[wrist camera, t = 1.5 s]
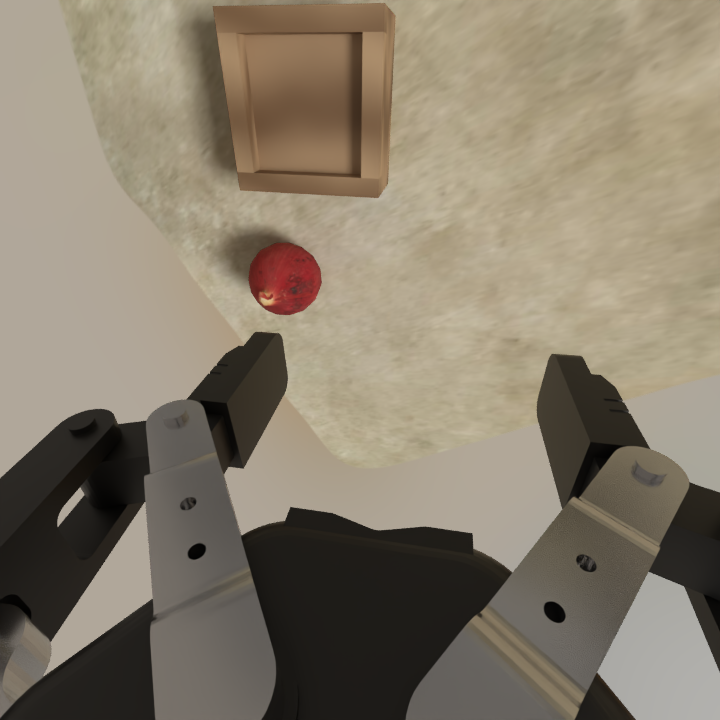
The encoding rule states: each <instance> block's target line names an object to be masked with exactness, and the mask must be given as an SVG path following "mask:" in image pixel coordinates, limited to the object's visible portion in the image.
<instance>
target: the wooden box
mask: <svg viewBox="0 0 720 720" xmlns="http://www.w3.org/2000/svg"><path fill="white" fill-rule="evenodd" d="M213 11H214V17H215V24H216V31H217V38H218V45H219V51H220V58H221V65H222V72H223V79H224V85H225V92H226V99H227V106H228V112H229V119H230V126H231V133H232V140H233V146H234V153H235V160H236V167H237V174H238V180H239V187H240V190H243V191H262V192H280V193H298V194H316V195H335V196H353V197H371V198H379V196H380V195H381V193H382V192H383V190H384V189H385V187H386V186H387V184H388V170H389V148H390V126H391V103H392V81H393V59H394V37H395V15H394V13H393V12H392V11H391V10H390V9H389V8H388V6H387V5H386V4H385V3H371V4H315V5H259V6H213Z"/></svg>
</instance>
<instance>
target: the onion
mask: <svg viewBox="0 0 720 720" xmlns="http://www.w3.org/2000/svg"><path fill="white" fill-rule="evenodd" d="M321 283H322V281H321V271H320V268H319V266H318V264H317V262H316V260H315V259H314V257H313V256H312V255H311V254H310V253H308V252H307V251H306V250H304V249H303V248H302V247H299V246H297V245H294V244H291V243H275V244H273V245H271V246H268V247H266V248H264V249H262V250H260V252H259V253H258V254H257V255H256V257H255V258H254V260H253V261H252V263H251V265H250V271H249V284H250V289H251V293H252V294H253V296H254V297H255V299H256V300H257V302H258V303H259V304H260V305H261V306H262V307H263V308H265V309H266V310H268V311H270V312H272V313H275V314H279V315H291V314H294V313H297V312H300V311H303V310H305V309H306V308H307V307H308V306H309V305H310V304H311V303H312V302H313V301H314V300H315V299H316V296H317V294H318V291H319V289H320V286H321Z"/></svg>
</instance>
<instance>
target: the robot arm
mask: <svg viewBox="0 0 720 720" xmlns="http://www.w3.org/2000/svg"><path fill="white" fill-rule="evenodd" d="M287 381H288V374H287V367H286V360H285V353H284V346H283V340H282V337H281V335H280V334H279V333H267V332H255V333H254V334H253V335H252V336H251V338H250V339H249V340H248V341H247V342H246V344H245V345H244V346H238V347H236V348H234V349H233V350H231V351H229V352H228V353H226V354H225V355H224V356H223V357H222V359H221V360H220V361H219V362H218V363H217V366H215V367H214V368H213V369H212V370H211V371H210V374H208V375H207V376H206V377H205V378H204V380H203V381H202V382H201V383H200V384H199V386H198V387H197V388H196V389H195V390H194V391H193V392H192V394H191V395H190V396H189V397H188V398H187V399H186V400H177V401H173V402H170V403H167V404H165V405H163V406H161V407H159V408H158V409H156V410H155V411H154V412H153V413H152V414H151V415H150V416H149V417H148V419H147V421H141V422H133V423H125V424H118V423H117V421H116V419H115V416H114V414H113V413H112V412H110V411H108V410H105V409H93V410H87V411H84V412H81V413H78V414H75V415H73V416H71V417H69V418H67V419H66V420H64V421H63V422H61V423H60V424H59V425H58V426H57V427H56V428H55V429H53V430H52V431H51V432H50V433H49V434H48V435H47V436H46V437H45V438H44V439H43V440H41V441H40V442H39V443H38V444H37V445H36V446H35V447H34V448H33V449H32V450H31V451H29V452H28V453H27V454H26V455H25V456H24V457H23V458H22V459H21V460H20V461H19V462H17V463H16V464H15V465H14V466H13V467H12V468H11V469H10V470H9V471H8V472H7V473H6V474H5V475H4V476H2V477H1V478H0V720H636V719H635V718H634V717H633V716H632V715H631V713H630V712H629V711H628V710H627V708H626V707H625V706H624V705H623V704H622V702H621V701H620V700H619V699H618V697H617V696H616V695H615V694H614V693H613V691H612V690H611V689H610V688H609V686H608V685H607V684H606V683H605V682H604V680H603V679H602V678H601V677H600V675H599V674H598V673H597V671H598V669H599V667H600V665H601V663H602V661H603V659H604V657H605V656H606V653H607V652H608V649H609V648H610V646H611V644H612V641H613V639H614V638H615V636H616V634H617V632H618V630H619V628H620V626H621V624H622V622H623V620H624V618H625V616H626V614H627V613H628V611H629V609H630V607H631V605H632V603H633V601H634V599H635V597H636V595H637V593H638V591H639V589H640V587H641V585H642V583H643V581H644V579H645V577H646V575H647V573H648V572H651V573H653V574H656V575H658V576H661V577H663V578H665V579H668V580H670V581H673V582H675V583H678V584H680V585H682V586H684V587H685V589H686V591H687V594H688V596H689V599H690V601H691V604H692V606H693V609H694V611H695V613H696V616H697V618H698V621H699V623H700V625H701V628H702V630H703V632H704V635H705V638H706V640H707V642H708V645H709V647H710V649H711V652H712V654H713V657H714V659H715V662H716V664H717V666H718V669H719V671H720V493H719V492H716V491H713V490H710V489H707V488H704V487H701V486H698V485H695V484H692V483H690V482H689V479H688V477H687V475H686V473H685V472H684V471H683V469H682V468H681V467H680V466H679V465H678V464H676V463H675V462H674V461H673V460H671V459H670V458H668V457H667V456H665V455H663V454H661V453H659V452H656V451H654V450H651V449H650V448H649V446H648V444H647V442H646V441H645V439H644V437H643V436H642V433H641V432H640V430H639V429H638V426H637V425H636V423H635V421H634V419H633V418H632V416H631V414H629V413H628V412H629V411H628V409H627V407H626V405H625V404H624V403H622V398H621V396H620V395H619V393H618V391H617V389H616V388H615V386H613V385H612V384H611V383H610V382H608V381H607V380H606V379H605V378H604V377H602V376H601V375H593V374H591V373H590V371H589V369H588V367H587V365H586V363H585V361H584V359H583V357H582V356H575V355H561V354H552V355H551V356H550V358H549V360H548V363H547V367H546V371H545V374H544V378H543V382H542V385H541V389H540V392H539V396H538V401H537V418H538V422H539V425H540V429H541V433H542V436H543V440H544V443H545V447H546V451H547V455H548V458H549V462H550V466H551V469H552V473H553V477H554V480H555V484H556V487H557V491H558V495H559V499H560V502H561V506H562V511H561V512H560V513H559V515H558V516H557V517H556V518H555V520H554V521H553V522H552V524H551V525H550V526H549V527H548V529H547V530H546V531H545V532H544V534H543V535H542V536H541V537H540V539H539V540H538V541H537V543H536V544H535V545H534V547H533V548H532V549H531V550H530V551H529V553H528V554H527V555H526V556H525V558H524V559H523V560H522V562H521V563H520V564H519V565H518V567H517V568H516V569H515V570H514V572H513V573H512V572H511V571H510V570H509V569H507V568H506V567H505V566H504V565H502V564H501V563H499V562H498V561H496V560H495V559H493V558H492V557H489V556H487V555H486V554H484V553H482V552H480V551H477V550H475V549H473V535H472V533H466V532H459V531H452V530H445V529H438V528H431V527H415V528H404V529H393V530H381V531H380V530H379V531H378V530H373V529H370V528H368V527H365V526H363V525H360V524H358V523H356V522H353V521H351V520H348V519H346V518H343V517H340V516H338V515H336V514H333V513H327V512H321V511H314V510H306V509H299V508H293V507H290V510H289V512H288V515H287V518H286V520H285V521H282V522H276V523H271V524H267V525H265V526H261V527H258V528H256V529H254V530H251V531H249V532H247V533H245V534H244V535H242V536H241V532H240V529H239V526H238V522H237V519H236V515H235V512H234V509H233V505H232V502H231V498H230V495H229V491H228V488H227V484H226V481H225V478H224V473H225V472H226V470H227V468H228V467H236V468H244V467H245V465H246V463H247V461H248V459H249V457H250V456H251V454H252V452H253V450H254V448H255V447H256V445H257V443H258V441H259V439H260V438H261V436H262V434H263V432H264V430H265V428H266V427H267V425H268V423H269V421H270V419H271V417H272V415H273V414H274V412H275V410H276V408H277V406H278V405H279V402H280V401H281V399H282V397H283V395H284V394H285V391H286V388H287ZM80 487H81V489H82V491H83V492H84V494H85V495H84V496H83V498H82V499H81V500H80V501H79V502H78V504H77V505H76V506H75V507H74V509H73V510H72V511H71V512H70V513H69V515H68V516H67V517H66V518H65V519H64V521H63V522H62V523H61V524H60V525H59V527H57V519H58V516H59V513H60V511H61V509H62V507H63V506H64V505H65V504H66V503H67V501H68V500H69V499H70V498H71V497H72V496H73V494H74V493H75V492H76V491H77V490H78V489H79V488H80ZM144 502H146V514H147V527H148V541H149V554H150V566H151V579H152V593H153V599H151V600H150V601H149V602H147V603H146V604H145V605H143V606H142V607H140V608H139V609H137V610H136V611H135V612H133V613H132V614H131V615H129V616H128V617H126V618H125V619H124V620H122V621H121V622H119V623H118V624H117V625H115V626H114V627H112V628H111V629H110V630H108V631H107V632H105V633H104V634H103V635H101V636H100V637H98V638H97V639H96V640H94V641H93V642H91V643H90V644H89V645H87V646H86V647H84V648H83V649H82V650H80V651H79V652H77V653H76V654H75V655H73V656H72V657H71V658H69V659H68V660H66V661H65V662H63V663H62V664H61V665H59V666H58V667H56V668H55V669H54V670H52V671H51V672H49V673H48V674H47V675H45V676H43V674H44V673H45V671H46V669H47V667H48V663H49V661H50V657H51V643H50V642H51V641H52V639H53V638H54V636H55V634H56V633H57V632H58V630H59V629H60V627H61V626H62V624H63V623H64V621H65V620H66V618H67V617H68V615H69V614H70V612H71V611H72V609H73V608H74V606H75V605H76V603H77V602H78V600H79V599H80V597H81V596H82V594H83V593H84V591H85V590H86V588H87V587H88V586H89V584H90V583H91V581H92V580H93V578H94V576H95V575H96V574H97V572H98V571H99V569H100V568H101V566H102V565H103V563H104V562H105V560H106V559H107V557H108V556H109V554H110V553H111V551H112V550H113V548H114V547H115V545H116V544H117V542H118V540H119V539H120V538H121V536H122V535H123V533H124V532H125V530H126V529H127V527H128V526H129V524H130V523H131V521H132V520H133V518H134V517H135V515H136V514H137V512H138V511H139V510H140V508H141V506H142V505H143V504H144Z"/></svg>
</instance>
